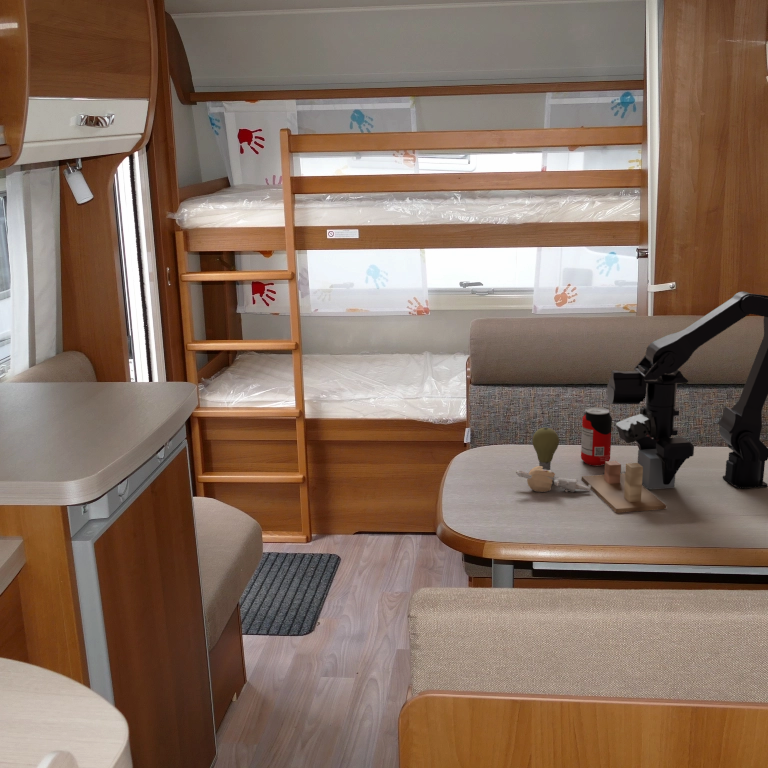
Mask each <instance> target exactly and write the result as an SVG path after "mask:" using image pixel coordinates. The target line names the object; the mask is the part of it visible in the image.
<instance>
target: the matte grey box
mask: <svg viewBox="0 0 768 768" xmlns="http://www.w3.org/2000/svg"><path fill="white" fill-rule="evenodd" d="M656 453H657V450H656V449H646V450H639V449H638V452H637V463H639V464H640V465H641V466H642V467H643V476H642V486H643V487H645V488H646V489H647V490H648V491H650V490H659V489H660V490H661V489H675V487H676V484H675V483H676V475H675V476H674V477H673V479H672V481H671V482H670V484H668V485H664V484H663V475H662V461H661V459H660V458H659V457H658V456H657V455H656Z"/></svg>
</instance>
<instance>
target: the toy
mask: <svg viewBox="0 0 768 768" xmlns="http://www.w3.org/2000/svg"><path fill="white" fill-rule="evenodd" d="M542 468H543V467H542V466H539V465H537V466H534V467H533V468H531V469H530V471H529V472H525V471H522V470H516V471H515V474H516V475H517V477H521V478H525V479H527V486H528V487H529V488H530V489H531V490H532V491H534V492H536V493H546V492H550V491H551V488H552V485H554V486H556V487H557V488H561V489H564V492H565V493H568V492H570V493H575V490H580V491H581V490H583V491H588V492H590V491H591V485H588V486H587V485H582V484H579V483H577V479H576V478H567V477H566V478H565V477H559V476H556V477H555V475H556V473H555V472H553V471H552V470H551V469H550V470H545V469H542Z"/></svg>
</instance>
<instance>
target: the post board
mask: <svg viewBox="0 0 768 768" xmlns="http://www.w3.org/2000/svg"><path fill="white" fill-rule="evenodd" d="M621 467H622V465H621V463H620V462H618V461H617V460H609V461H605V465H604V473H603V474H596V475H582V476H581V481H582V482H583V483H584V484H585V486H586V487H588V485H591V488H590V490H592V492H593V493H595V495H596V496H598V497H599V498H600V499H601V500H602V501H603V502H604V503H605V504H606V505H607V506H608V507H609V508H611V510H612V511H614V512H615V513H616V514H619V513H631V512H646V511H656V510H657V511H658V510H667V504H665V503H664V502H663V501H662V500H661V499H659V498H658V497H657V496H656V495H655V494H654V493H653V492H651V491H650V490H648V489H647V488H646V487H645V486H643V485H642V476H643V467H642V466H641V465H640V464H639V463H638V462H631V463H625V471H624V472H625V473H624V472H623V473H621Z"/></svg>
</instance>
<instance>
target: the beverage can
mask: <svg viewBox="0 0 768 768" xmlns="http://www.w3.org/2000/svg"><path fill="white" fill-rule="evenodd" d="M612 424H613V418H612V416H611V414H610V409H608V408H604V407H599V406H598V407H595V406H594V407H593V406H592V407H588V408H586V409H585V412H584V414H583V416H582V421H581V445H580V447H581V448H580V458H581V460H582V461H583V462H584V464H586V465H589V466H594V467H595V466H596V467H600V466H601V467H602V466H605V461H611V451H612V450H611V449H612V447H611V446H612Z"/></svg>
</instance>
